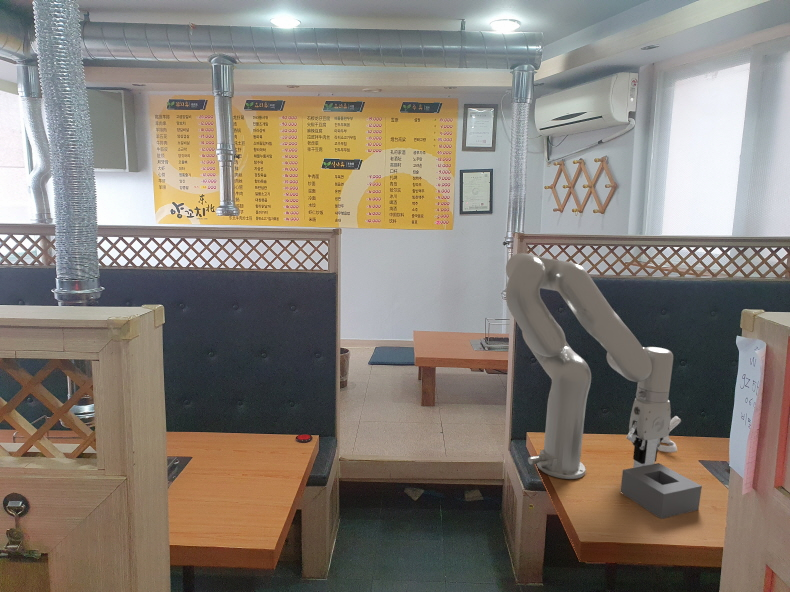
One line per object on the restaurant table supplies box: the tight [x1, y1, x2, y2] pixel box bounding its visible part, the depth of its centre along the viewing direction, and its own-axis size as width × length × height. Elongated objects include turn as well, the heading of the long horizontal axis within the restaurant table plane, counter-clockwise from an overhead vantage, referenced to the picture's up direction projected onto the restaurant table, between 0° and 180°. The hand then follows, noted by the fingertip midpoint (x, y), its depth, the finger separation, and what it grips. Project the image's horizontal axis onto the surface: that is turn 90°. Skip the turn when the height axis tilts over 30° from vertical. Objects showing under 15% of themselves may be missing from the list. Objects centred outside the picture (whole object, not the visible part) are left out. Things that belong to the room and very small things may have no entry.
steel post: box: [632, 439, 658, 468], centre depth 139 cm, size 4×4×13 cm
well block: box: [619, 462, 703, 520], centre depth 125 cm, size 12×12×6 cm
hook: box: [657, 415, 682, 453], centre depth 156 cm, size 8×12×7 cm
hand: (644, 459), depth 139 cm, fingers closed on steel post, 3 cm apart
